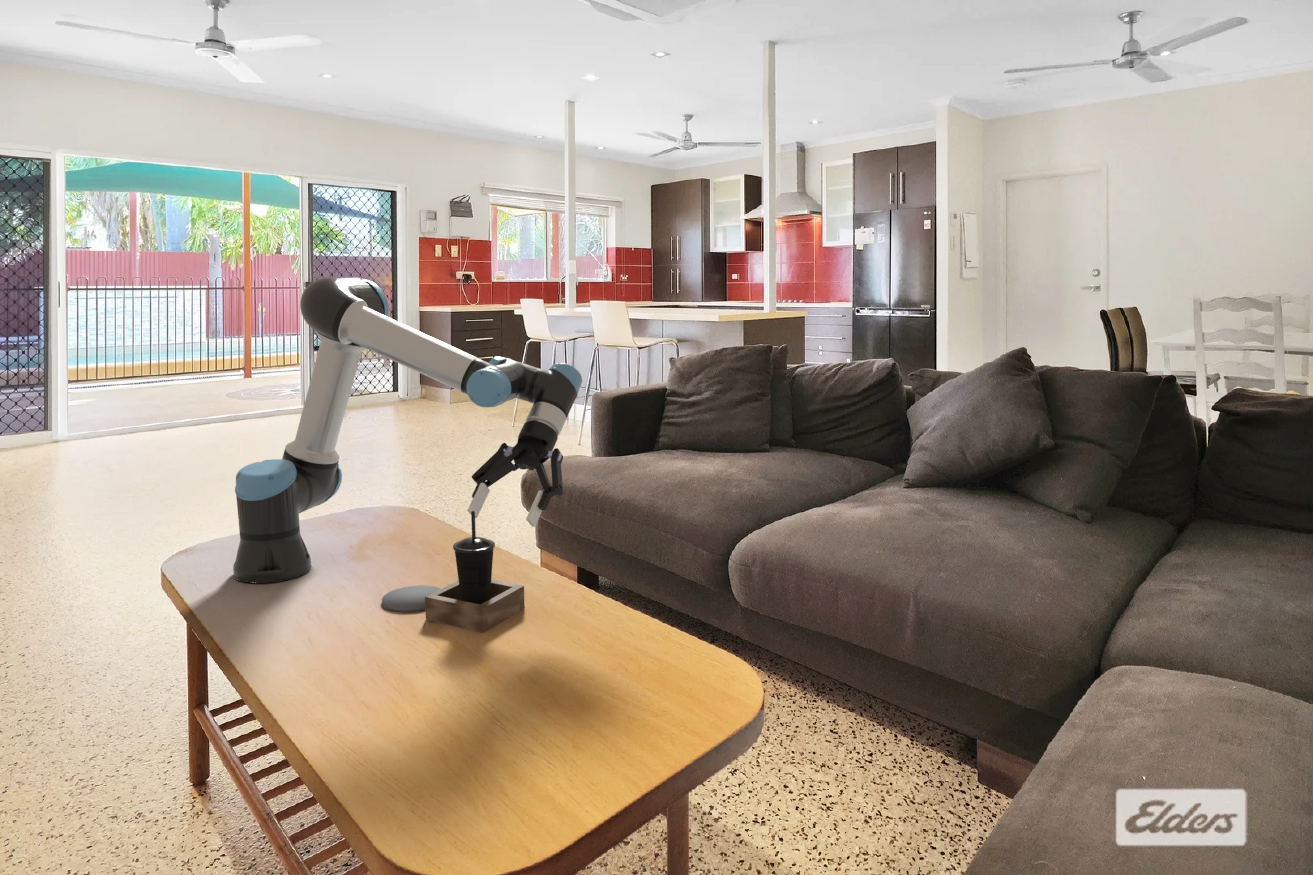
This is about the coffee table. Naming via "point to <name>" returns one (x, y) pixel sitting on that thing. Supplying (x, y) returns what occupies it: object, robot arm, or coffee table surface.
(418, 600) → the coaster
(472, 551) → the drinking cup
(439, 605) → the wooden square tray
